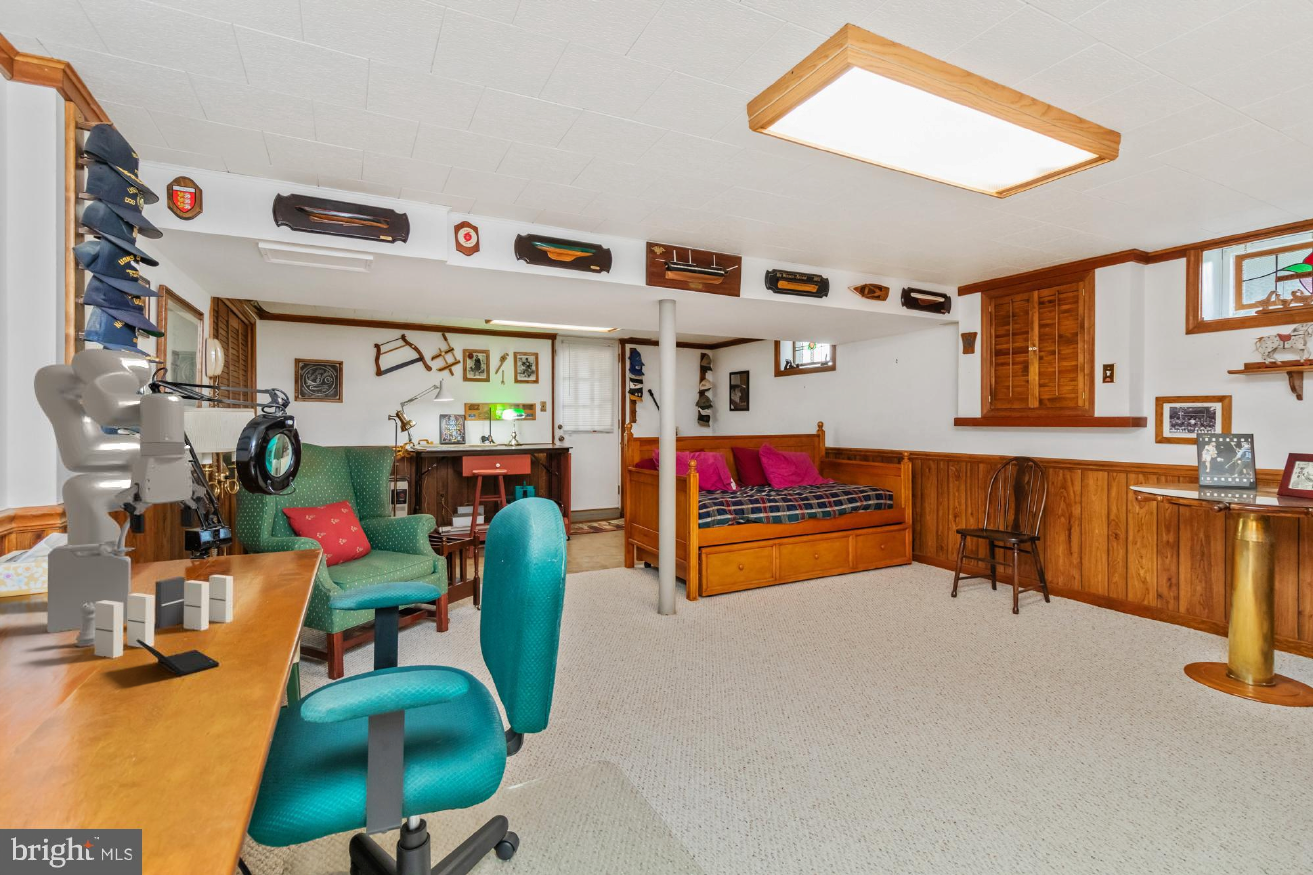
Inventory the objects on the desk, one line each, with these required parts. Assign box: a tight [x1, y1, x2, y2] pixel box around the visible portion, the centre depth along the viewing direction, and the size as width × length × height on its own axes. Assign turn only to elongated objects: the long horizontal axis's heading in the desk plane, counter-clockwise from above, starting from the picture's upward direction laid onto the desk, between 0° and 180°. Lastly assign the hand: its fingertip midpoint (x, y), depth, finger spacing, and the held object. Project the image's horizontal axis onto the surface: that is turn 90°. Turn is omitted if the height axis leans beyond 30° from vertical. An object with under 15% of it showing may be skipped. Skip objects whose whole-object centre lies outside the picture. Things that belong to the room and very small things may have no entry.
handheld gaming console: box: [136, 639, 220, 678], centre depth 110 cm, size 12×7×10 cm
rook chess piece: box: [75, 602, 95, 648], centre depth 121 cm, size 4×4×8 cm
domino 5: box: [208, 574, 234, 624], centre depth 136 cm, size 2×5×10 cm, turn 74°
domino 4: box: [183, 579, 210, 632], centre depth 131 cm, size 2×5×10 cm, turn 74°
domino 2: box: [126, 592, 155, 649], centre depth 121 cm, size 2×5×10 cm, turn 74°
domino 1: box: [94, 600, 124, 659], centre depth 115 cm, size 2×5×10 cm, turn 74°
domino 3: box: [154, 576, 186, 630], centre depth 133 cm, size 2×5×10 cm, turn 164°
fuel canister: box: [46, 508, 147, 634], centre depth 133 cm, size 15×5×25 cm, turn 127°
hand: (163, 529), depth 132 cm, fingers open, 9 cm apart
